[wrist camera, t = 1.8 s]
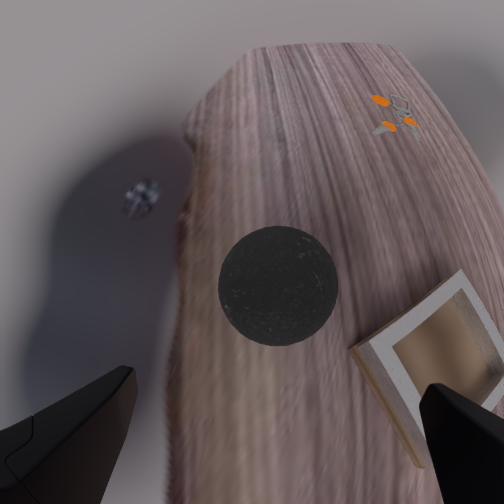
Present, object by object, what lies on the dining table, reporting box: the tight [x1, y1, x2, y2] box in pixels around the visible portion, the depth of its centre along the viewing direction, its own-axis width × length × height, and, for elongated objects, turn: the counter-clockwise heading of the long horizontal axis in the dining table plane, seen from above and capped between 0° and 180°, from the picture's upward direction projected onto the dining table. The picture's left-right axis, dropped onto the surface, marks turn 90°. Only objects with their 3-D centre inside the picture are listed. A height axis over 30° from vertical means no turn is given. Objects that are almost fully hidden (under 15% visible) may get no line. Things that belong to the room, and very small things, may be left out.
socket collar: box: [357, 269, 504, 467], centre depth 18 cm, size 11×11×2 cm
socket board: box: [348, 277, 491, 469], centre depth 19 cm, size 11×11×1 cm
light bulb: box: [218, 226, 338, 346], centre depth 16 cm, size 6×6×10 cm
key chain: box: [372, 94, 420, 141], centre depth 35 cm, size 13×7×1 cm, turn 162°
